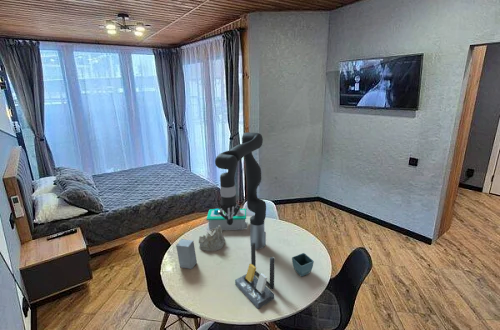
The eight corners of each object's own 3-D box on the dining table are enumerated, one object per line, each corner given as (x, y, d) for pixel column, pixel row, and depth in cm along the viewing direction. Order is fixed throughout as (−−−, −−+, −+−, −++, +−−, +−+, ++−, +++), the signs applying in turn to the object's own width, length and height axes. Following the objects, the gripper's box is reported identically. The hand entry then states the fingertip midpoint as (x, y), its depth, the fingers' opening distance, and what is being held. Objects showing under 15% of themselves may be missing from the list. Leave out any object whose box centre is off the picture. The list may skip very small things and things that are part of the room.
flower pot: (300, 280, 144) (301, 266, 141) (291, 270, 151) (291, 257, 149) (313, 274, 148) (314, 261, 145) (303, 265, 155) (304, 252, 153)
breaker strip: (250, 276, 147) (250, 268, 146) (274, 299, 132) (274, 290, 130) (235, 284, 142) (235, 276, 140) (258, 308, 126) (258, 300, 125)
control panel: (207, 201, 202) (247, 201, 202) (209, 221, 207) (247, 220, 207) (204, 211, 188) (247, 210, 188) (206, 231, 193) (247, 231, 193)
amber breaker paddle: (247, 277, 141) (251, 263, 140) (252, 282, 138) (256, 267, 137) (245, 278, 140) (249, 264, 139) (249, 282, 137) (253, 268, 136)
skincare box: (197, 262, 159) (195, 239, 155) (191, 270, 153) (188, 246, 148) (184, 260, 162) (182, 237, 157) (178, 267, 155) (175, 244, 151)
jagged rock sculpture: (227, 238, 184) (225, 219, 179) (219, 253, 169) (216, 232, 164) (206, 236, 188) (203, 218, 183) (196, 251, 173) (193, 231, 168)
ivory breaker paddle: (258, 287, 134) (262, 273, 133) (263, 292, 131) (267, 277, 130) (255, 288, 133) (259, 273, 132) (260, 293, 130) (265, 278, 129)
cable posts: (254, 269, 153) (253, 242, 148) (275, 288, 139) (275, 258, 133) (250, 270, 152) (250, 243, 146) (271, 290, 138) (271, 260, 132)
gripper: (235, 187, 138) (236, 217, 144) (212, 194, 131) (215, 225, 137) (243, 192, 132) (244, 223, 138) (220, 199, 125) (222, 231, 131)
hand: (229, 224), depth 137 cm, fingers closed
